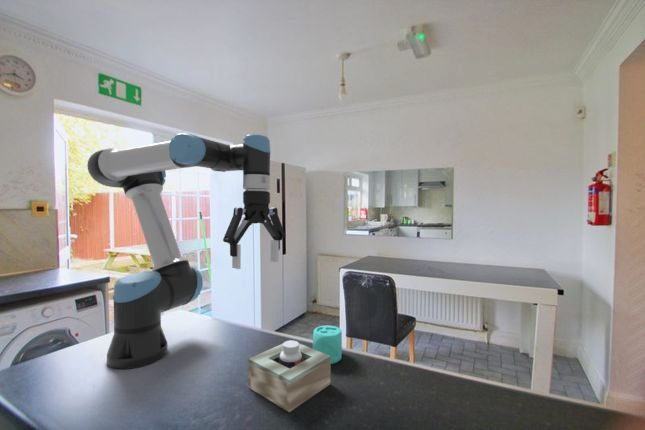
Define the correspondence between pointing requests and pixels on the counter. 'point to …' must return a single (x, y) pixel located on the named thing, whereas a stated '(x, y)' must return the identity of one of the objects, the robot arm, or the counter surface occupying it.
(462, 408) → the counter surface
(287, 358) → the pill bottle
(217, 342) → the counter surface
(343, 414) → the counter surface
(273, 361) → the grey hollow square block
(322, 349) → the engraved teal number block
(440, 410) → the counter surface
